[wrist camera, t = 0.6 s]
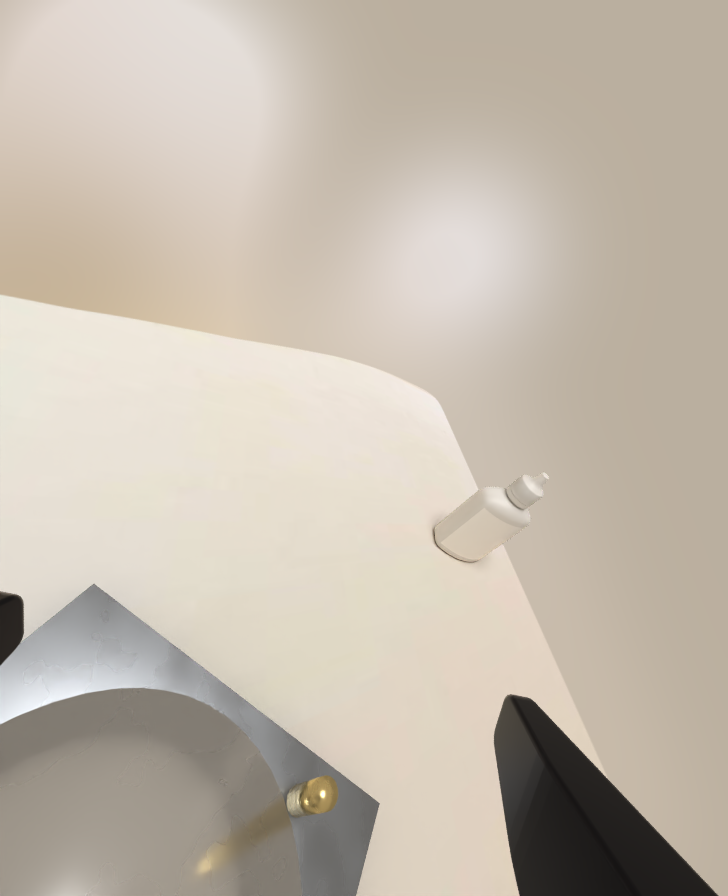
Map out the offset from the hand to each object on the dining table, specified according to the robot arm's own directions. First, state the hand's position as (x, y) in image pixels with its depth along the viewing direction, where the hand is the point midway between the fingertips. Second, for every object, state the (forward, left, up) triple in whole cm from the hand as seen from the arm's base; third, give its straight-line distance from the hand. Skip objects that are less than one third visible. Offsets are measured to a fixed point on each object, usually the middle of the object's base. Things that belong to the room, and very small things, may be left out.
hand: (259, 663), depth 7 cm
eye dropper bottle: (+27, -13, -17) cm, 35 cm away
